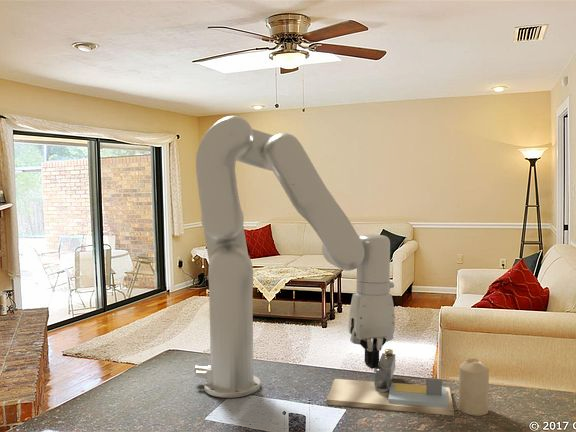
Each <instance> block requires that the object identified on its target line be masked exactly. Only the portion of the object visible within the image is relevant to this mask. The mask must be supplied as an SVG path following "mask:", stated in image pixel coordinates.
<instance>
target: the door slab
mask: <svg viewBox="0 0 576 432" xmlns="http://www.w3.org/2000/svg"><path fill="white" fill-rule="evenodd" d="M442 382H443V379H442V378H434V377H433V378H432V377H426V384H414V383H413V384H412V383H411V384H410V383H398V382H391V386H390V390H389V403H396V404H408V405H420V406H431V407H443V408H448V400H447V394H446V388H445V387H446V386H443V383H442Z"/></svg>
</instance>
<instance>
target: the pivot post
mask: <svg viewBox="0 0 576 432" xmlns="http://www.w3.org/2000/svg"><path fill="white" fill-rule="evenodd" d="M375 390H376V391H377V392H380V393H388V392H389V390H390V387H389V388H381V387H376V386H375Z"/></svg>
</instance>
